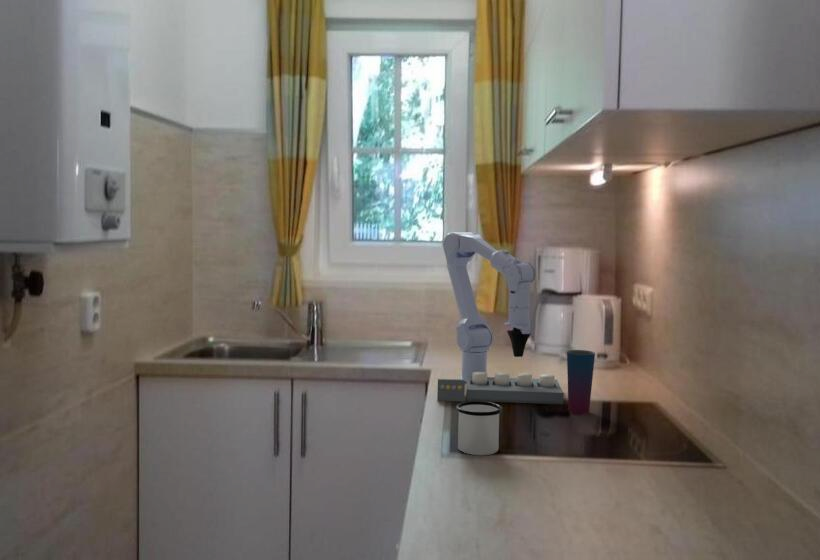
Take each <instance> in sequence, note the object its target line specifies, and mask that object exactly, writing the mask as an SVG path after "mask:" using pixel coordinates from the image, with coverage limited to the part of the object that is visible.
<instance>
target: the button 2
mask: <svg viewBox="0 0 820 560" xmlns="http://www.w3.org/2000/svg"><path fill="white" fill-rule="evenodd" d="M494 377H495V384H494V385H500V386H509V379H510V378H511V377H510V373H508V372H495V373H494Z"/></svg>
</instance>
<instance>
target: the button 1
mask: <svg viewBox="0 0 820 560" xmlns="http://www.w3.org/2000/svg"><path fill="white" fill-rule="evenodd" d="M487 377H488V373H487V372H486V373H485V372H473V376H472V385H487Z"/></svg>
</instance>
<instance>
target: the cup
mask: <svg viewBox="0 0 820 560" xmlns="http://www.w3.org/2000/svg"><path fill="white" fill-rule="evenodd" d="M595 355H596V352H594V351H591V350H585V349H570V350H567V351H566V363H567V364H566V365H567V368H566V369H567V373H566V374H567V400H568V401H567V407H568V409H567V411H568V413H570V414H575V415H588V414H589V413H590V407H591V406H590V405H591V398H592V387H593V376H594V367H595V366H594V365H595V358H596V357H595Z"/></svg>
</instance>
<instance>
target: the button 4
mask: <svg viewBox="0 0 820 560" xmlns="http://www.w3.org/2000/svg"><path fill="white" fill-rule="evenodd" d="M538 379H539V387H554V380H555V375H554V374H551V373H541V374H539V378H538Z"/></svg>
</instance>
